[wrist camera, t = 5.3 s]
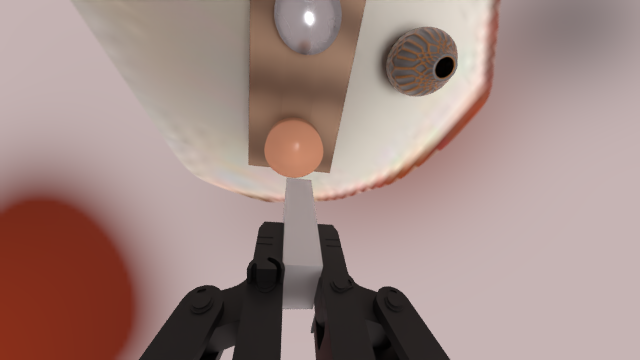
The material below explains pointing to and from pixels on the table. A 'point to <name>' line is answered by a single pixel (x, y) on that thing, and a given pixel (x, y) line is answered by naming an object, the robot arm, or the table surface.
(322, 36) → the grey plunger
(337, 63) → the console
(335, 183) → the table surface
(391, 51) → the vase
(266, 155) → the terracotta plunger
